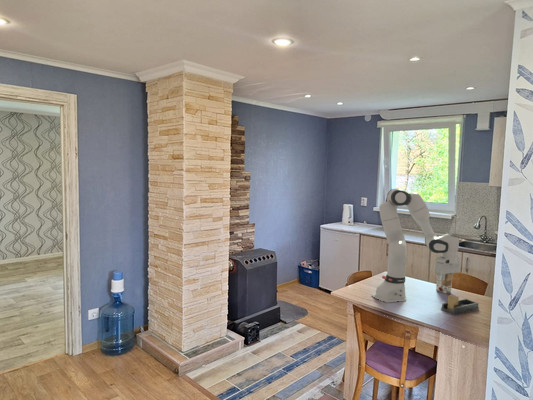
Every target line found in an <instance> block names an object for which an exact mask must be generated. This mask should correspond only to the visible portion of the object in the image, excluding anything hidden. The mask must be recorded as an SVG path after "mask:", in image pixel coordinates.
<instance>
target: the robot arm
mask: <svg viewBox="0 0 533 400" xmlns="http://www.w3.org/2000/svg"><path fill="white" fill-rule="evenodd" d="M402 206H405V207H406V208H407V210H408V211H409V214H410V216H411V218H412V219H413V220H414V221H415V222H416V224H418V225H419V227H420V230H421V231H422V233H423V236H424V243H425V246H426V248H428V249H429V250H430V252H433V253H434V254H441V255H439V256H438V257H436V259H435V261H436V263H435V266H434V273H435V274H436V275H437V274H439V275H442V280H446V278H445V275H446V274H450V273H451V274H452V277H453V276H454V274H455V273H456V274H457V273H460V272H461V267H462V266H461V265H462V264H461V259H460V258H458V251H459V247H460V246H459V245H460V244H459V243H460V238H459V237H458V236H457V235H456V234H452V233H445V234H443V235H441V236H438V235H437V234H436V233H435V232H434V229H433V228H432V225H431V223H430V216H431V215H430V211H429V208H428V206H427V204H426V201H424V199H423V197H422V196H421V195H420V193H418V192H411V193H409V192H408V191H406V190H404V189H402V188H392V189H390V190H389V191H388V192H387V195H386V199H385V202H382V203H381V204H380V205H379V209H378V211H379V217H380V220H381V224H382V228H383V232H384V234H385V238H386V241H387V244H388V254H387V255H388V258H387V269H386V270H387V272H386V275H382V276H381V278H382V279H383V281H382V282H381V283H380V284H379V285H378V286H377V287H376V289H375V292H374V293H372V294H371V296H372V298H374V297H375V298H377V299H379V300H378V301H380V300H382V301H381V302H383V301H385V302H384V303H397V301H399V302H406V301H407V297H406V287H405V283H406V265H407V263H406V262H407V256H408V255H407V254H408V246H407V242H406V238H405V234H404V232H403V228H402V225H401V221H400V217H399V214H398V207H402ZM375 298H374V299H375ZM377 299H376V300H377Z"/></svg>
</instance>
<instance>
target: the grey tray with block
mask: <svg viewBox="0 0 533 400" xmlns="http://www.w3.org/2000/svg"><path fill="white" fill-rule="evenodd" d="M479 309H480V307H479V302H477V301H475V300H471V299H468V298H462V299H460V297H459V296H457V295H455V294H449V295H448V296H447V302H444V303H441V309H440V310H442V311H443V312H446V313H448V314H451V315H452V316H458V315H462V314H465V313H470V312H474V311H479Z"/></svg>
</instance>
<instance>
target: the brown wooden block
mask: <svg viewBox="0 0 533 400" xmlns="http://www.w3.org/2000/svg"><path fill="white" fill-rule="evenodd" d="M445 278H446V280H441V281H442V283H441V285H444V286H446V287H448V286H451V282H452V283H453V276H452V274H451V273H450V274H446V275H445Z"/></svg>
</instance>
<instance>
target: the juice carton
mask: <svg viewBox="0 0 533 400" xmlns="http://www.w3.org/2000/svg"><path fill="white" fill-rule="evenodd" d="M441 280H442V275H439V274H436V285H435V288H436V292H440V293H443V294H449V293H451V291H452V286H453V285H452V284H453V281H452V282H451V286H448V287H446V286H444V285H441V283H442V281H441Z"/></svg>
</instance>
